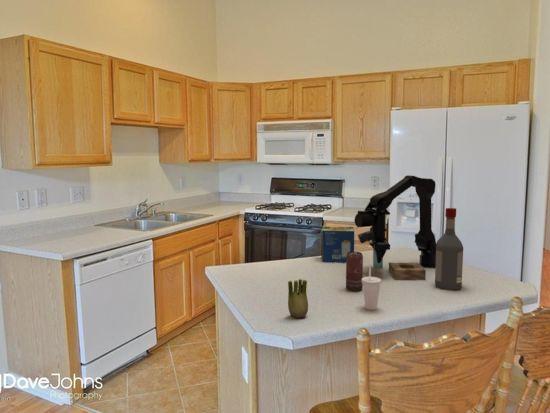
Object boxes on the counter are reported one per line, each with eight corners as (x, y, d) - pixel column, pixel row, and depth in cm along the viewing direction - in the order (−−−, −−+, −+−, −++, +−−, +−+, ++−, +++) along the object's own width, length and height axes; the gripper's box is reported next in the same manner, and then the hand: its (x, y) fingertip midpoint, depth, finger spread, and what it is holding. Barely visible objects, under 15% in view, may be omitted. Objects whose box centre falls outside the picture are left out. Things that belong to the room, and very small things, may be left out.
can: (361, 286, 157) (361, 251, 156) (363, 292, 151) (363, 255, 149) (345, 286, 158) (345, 250, 156) (346, 291, 152) (347, 254, 150)
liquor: (435, 288, 154) (438, 209, 150) (434, 281, 162) (437, 206, 159) (461, 291, 151) (465, 210, 147) (459, 284, 159) (463, 207, 156)
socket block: (416, 271, 177) (417, 262, 176) (425, 280, 165) (425, 270, 164) (388, 271, 177) (388, 262, 177) (395, 279, 165) (395, 270, 165)
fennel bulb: (287, 318, 128) (286, 280, 126) (292, 312, 132) (291, 276, 131) (304, 320, 126) (304, 282, 124) (309, 314, 130) (309, 278, 129)
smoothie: (358, 304, 138) (359, 264, 137) (377, 303, 139) (378, 263, 137) (364, 311, 132) (365, 269, 130) (383, 310, 133) (384, 268, 131)
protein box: (322, 257, 205) (322, 226, 203) (353, 257, 202) (353, 226, 200) (321, 262, 194) (321, 230, 192) (354, 263, 192) (354, 230, 190)
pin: (381, 266, 177) (381, 248, 176) (383, 268, 173) (383, 250, 172) (372, 266, 177) (372, 248, 176) (373, 268, 173) (374, 250, 172)
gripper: (356, 222, 183) (355, 256, 185) (362, 229, 164) (362, 267, 166) (381, 222, 182) (380, 256, 184) (390, 229, 164) (390, 267, 166)
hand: (377, 261), depth 175 cm, fingers closed on pin, 4 cm apart
